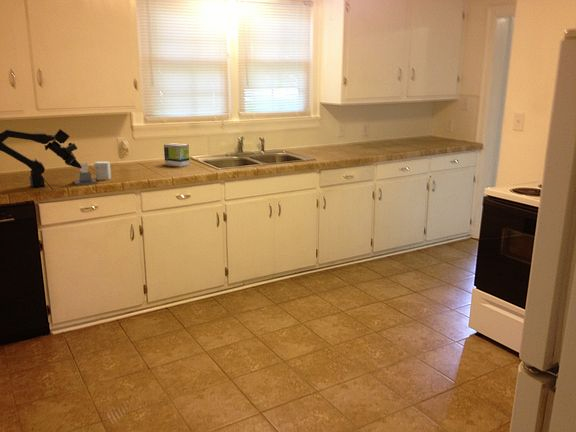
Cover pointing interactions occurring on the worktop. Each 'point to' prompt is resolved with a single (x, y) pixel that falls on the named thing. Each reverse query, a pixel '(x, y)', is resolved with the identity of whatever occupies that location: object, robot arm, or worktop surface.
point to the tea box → (176, 154)
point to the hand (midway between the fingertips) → (80, 166)
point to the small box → (102, 170)
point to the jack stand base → (85, 179)
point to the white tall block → (84, 167)
